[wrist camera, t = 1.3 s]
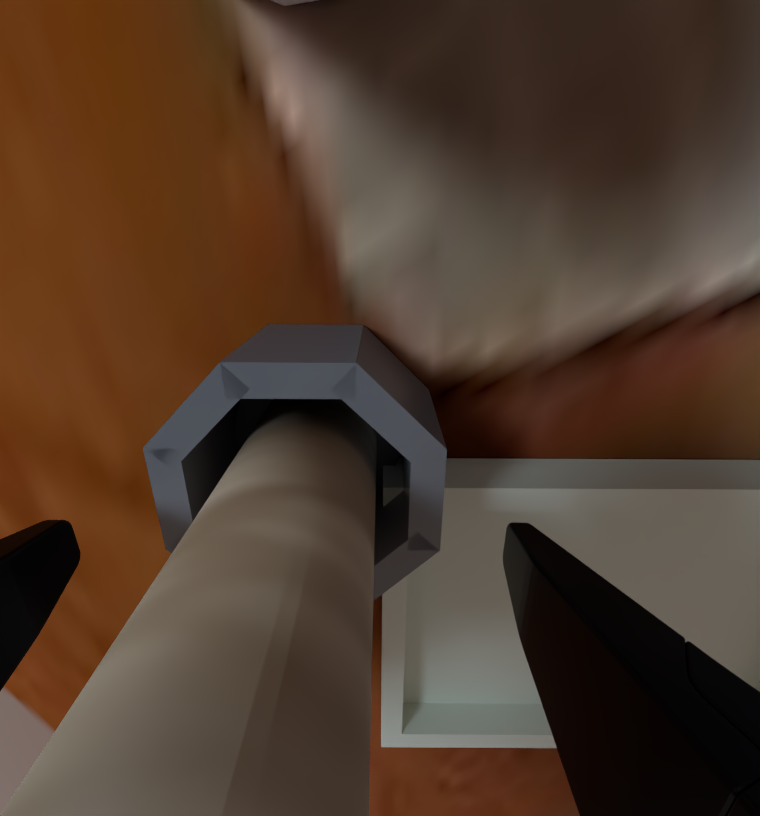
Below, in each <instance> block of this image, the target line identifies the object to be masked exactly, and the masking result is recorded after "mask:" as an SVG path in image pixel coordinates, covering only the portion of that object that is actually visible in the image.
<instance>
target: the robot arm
mask: <svg viewBox="0 0 760 816" xmlns="http://www.w3.org/2000/svg"><path fill="white" fill-rule="evenodd" d="M79 560H80V549H79V546H78V543H77V540H76V537H75V534H74V531H73V528H72V525H71V524H70V523H69V522H68V521H66V520H45V521H42V522H40V523H37V524H35V525H33V526H30V527H28V528H26V529H23V530H21V531H19V532H16V533H14V534H12V535H9V536H7V537H5V538H2V539H0V691H1V689H2V688H3V687H4V685H5V684H6V682H7V681H8V679H9V678H10V676H11V675H12V673H13V672H14V670H15V669H16V667H17V666H18V665H19V663H20V662H21V660H22V659H23V657H24V656H25V654H26V653H27V651H28V650H29V648H30V647H31V645H32V644H33V642H34V641H35V639H36V638H37V636H38V635H39V633H40V631H41V629H42V628H43V626H44V624H45V623H46V621H47V619H48V617H49V616H50V614H51V612H52V610H53V608H54V607H55V605H56V603H57V601H58V600H59V598H60V596H61V594H62V592H63V591H64V589H65V587H66V585H67V584H68V582H69V580H70V578H71V576H72V575H73V573H74V571H75V569H76V567H77V566H78V564H79ZM503 566H504V571H505V576H506V580H507V585H508V589H509V594H510V598H511V603H512V607H513V612H514V616H515V620H516V625H517V629H518V633H519V637H520V641H521V644H522V647H523V650H524V653H525V656H526V659H527V662H528V665H529V668H530V671H531V674H532V677H533V680H534V683H535V686H536V688H537V691H538V694H539V697H540V700H541V703H542V706H543V709H544V712H545V715H546V718H547V721H548V724H549V726H550V729H551V732H552V735H553V738H554V741H555V744H556V747H557V750H558V753H559V756H560V759H561V762H562V764H563V767H564V770H565V773H566V776H567V779H568V782H569V785H570V788H571V791H572V794H573V797H574V800H575V803H576V805H577V808H578V811H579V814H580V816H760V691H758V690H757V689H755V688H754V687H752V686H751V685H749V684H748V683H747V682H745V681H744V680H742V679H741V678H740V677H738V676H737V675H735V674H734V673H732V672H731V671H730V670H728V669H727V668H725V667H724V666H723V665H721V664H720V663H718V662H717V661H716V660H714V659H713V658H712V657H710V656H709V655H707V654H706V653H705V652H703V651H702V650H701V649H699V648H698V647H697V646H695V645H694V644H693V643H691V642H690V641H687V642H685V638H684V637H683V636H681V635H680V634H679V633H677V632H676V631H675V630H673V629H672V628H671V627H669V626H668V625H667V624H665V623H664V622H663V621H661V620H660V619H658V618H657V617H656V616H654V615H653V614H652V613H650V612H649V611H648V610H646V609H645V608H644V607H642V606H641V605H640V604H638V603H637V602H635V601H634V600H633V599H631V598H630V597H629V596H627V595H626V594H625V593H623V592H622V591H621V590H619V589H618V588H617V587H615V586H614V585H612V584H611V583H610V582H608V581H607V580H606V579H604V578H603V577H602V576H600V575H599V574H598V573H596V572H595V571H593V570H592V569H591V568H589V567H588V566H587V565H585V564H584V563H583V562H581V561H580V560H579V559H577V558H576V557H575V556H573V555H572V554H570V553H569V552H568V551H566V550H565V549H564V548H562V547H561V546H560V545H558V544H557V543H556V542H554V541H553V540H552V539H550V538H549V537H547V536H546V535H545V534H543V533H542V532H541V531H539V530H538V529H537V528H535V527H534V526H533V525H531V524H529V523H521V522H512V523H509V524H508V526H507V528H506V535H505V542H504V549H503Z"/></svg>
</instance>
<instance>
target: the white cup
mask: <svg viewBox="0 0 760 816" xmlns="http://www.w3.org/2000/svg"><path fill="white" fill-rule="evenodd" d="M271 1H273V2H276V3H278V4H280V5H283V6H288V5H294V4H300V3H306V2H312V1H318V0H271Z"/></svg>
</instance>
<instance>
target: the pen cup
mask: <svg viewBox="0 0 760 816" xmlns="http://www.w3.org/2000/svg"><path fill="white" fill-rule="evenodd" d="M240 399H241V401H240V404H239V406H238V407H237V402H238V401H239V400H240ZM274 399H342V400H343V401H344V402H345V403H346V404H347V405H348V406H349V407H351V408H352V409H353V410H354V411H355V412H356V413H357V414H358V415H359V416H360V417H361V418H363V419H364V420H365V421H366V422H367V423H368V424H369V425H370V426H371V427H372V428H374V429H375V430H376V432H377V455H376V500H375V546H374V591H373V601H374V600H375V599H377V598H378V597H379V596H381V595H382V594H383V593H385V592H386V591H387V590H389V589H390V588H391V587H393V586H394V585H395V584H396V583H398V582H399V581H400V580H402V579H403V578H404V577H406V576H407V575H408V574H410V573H411V572H412V571H414V570H415V569H416V568H418V567H419V566H420V565H422V564H423V563H424V562H426V561H427V560H428V559H430V558H431V557H432V556H434V555H435V554H436V553H438V552H439V551H440V544H441V529H442V515H443V501H444V487H445V473H446V458H447V448H446V445H445V441H444V438H443V435H442V432H441V428H440V425H439V422H438V418H437V415H436V412H435V409H434V405H433V402H432V399H431V395H430V392H429V389H428V388H427V387H426V386H425V385H424V384H423V383H422V382H421V381H420V380H419V379H418V378H417V377H416V376H415V375H414V374H413V373H412V372H411V371H410V370H409V369H408V368H407V367H406V366H405V365H404V364H403V363H402V362H401V361H400V360H399V359H397V358H396V357H395V356H394V355H393V354H392V353H391V352H390V351H389V350H388V349H387V348H386V347H385V346H384V345H383V344H382V343H381V342H380V341H379V340H378V339H377V338H376V337H375V336H374V335H373V334H372V333H371V332H370V331H369V330H368V329H367V328H366V327H365V326H364V325H273V324H268V325H266V326H265V327H264V328H263V329H261V330H260V331H259V332H258V333H256V334H255V335H254V336H253V337H251V338H250V339H249V340H247V341H246V342H245V343H244V344H242V345H241V346H240V347H239V348H237V349H236V350H235V351H234V352H232V353H231V354H230V355H229V356H227V357H226V358H225V359H224V360H222V361H221V362H220V363H219V364H218V365H217V366H216V367H215V368H214V369H213V370H212V372H211V373H210V374H209V375H208V376H207V377H206V378H205V379H204V381H203V382H202V383H201V384H200V385H199V386H198V387H197V388H196V389H195V391H194V392H193V393H192V394H191V395H190V396H189V397H188V398H187V399H186V401H185V402H184V403H183V404H182V405H181V406H180V407H179V408H178V409H177V411H176V412H175V413H174V414H173V415H172V416H171V417H170V418H169V420H168V421H167V422H166V423H165V424H164V425H163V426H162V427H161V428H160V430H159V431H158V432H157V433H156V434H155V435H154V436H153V437H152V438H151V440H150V441H149V442H148V443H147V444H146V445H145V446H144V447H143V451H144V456H145V460H146V464H147V469H148V473H149V478H150V482H151V486H152V491H153V495H154V500H155V504H156V508H157V513H158V517H159V521H160V526H161V530H162V535H163V539H164V543H165V548H166V550H168V551H169V552H171V553H173V551H174V550H175V548H176V546H177V545H178V543H179V542H180V540H181V539H182V537H183V536H184V534H185V533H186V531H187V530H188V528H189V527H190V525H191V524H192V522H193V521H194V519H195V518H196V516H197V514H198V513H199V511H200V510H201V508H202V507H203V505H204V504H205V502H206V501H207V499H208V498H209V496H210V495H211V493H212V492H213V490H214V489H215V487H216V486H217V484H218V482H219V481H220V479H221V478H222V476H223V475H224V473H225V472H226V470H227V469H228V467H229V466H230V464H231V463H232V461H233V460H234V458H235V457H236V455H237V454H238V452H239V450H240V449H241V447H242V446H243V444H244V443H245V441H246V440H247V438H248V437H249V435H250V434H251V432H252V431H253V429H254V428H255V426H256V425H257V423H258V422H259V420H260V418H261V417H262V415H263V414H264V412H265V411H266V409H267V408H268V406H269V405H270V403H271V402H272V401H273V400H274ZM400 453H401V462H402V473H403V484H404V490H403V491H402V492H401V493H400V494H398V495H397V496H396V497H395V498H394V499H392V500H391V501H390V502H389V503H388V504H386V505H385V506H384V507H383V466H396V463H397V461H398V459H399V456H400Z"/></svg>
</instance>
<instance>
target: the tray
mask: <svg viewBox="0 0 760 816" xmlns="http://www.w3.org/2000/svg"><path fill="white" fill-rule="evenodd" d="M403 490H404V484H403V473H402V462H401V458H399V459H398V461H397V463H396V466H383V507H384V506H385V505H386V504H388V503H389V502H390V501H391V500H392V499H394V498H395V497H396V496H397V495H398V494H400V493H401V492H402V491H403ZM512 522H521V523H529V524H531V525H533V526H534V527H535V528H537V529H538V530H539V531H541V532H542V533H543V534H545V535H546V536H547V537H549V538H550V539H552V540H553V541H554V542H556V543H557V544H558V545H560V546H561V547H562V548H564V549H565V550H566V551H568V552H569V553H570V554H572V555H573V556H575V557H576V558H577V559H579V560H580V561H581V562H583V563H584V564H585V565H587V566H588V567H589V568H591V569H592V570H593V571H595V572H596V573H598V574H599V575H600V576H602V577H603V578H604V579H606V580H607V581H608V582H610V583H611V584H612V585H614V586H615V587H617V588H618V589H619V590H621V591H622V592H623V593H625V594H626V595H627V596H629V597H630V598H631V599H633V600H634V601H635V602H637V603H638V604H640V605H641V606H642V607H644V608H645V609H646V610H648V611H649V612H650V613H652V614H653V615H654V616H656V617H657V618H658V619H660V620H661V621H663V622H664V623H665V624H667V625H668V626H669V627H671V628H672V629H673V630H675V631H676V632H677V633H679V634H680V635H681V636H683V637H684V638H685V642H687V641H690V642H691V643H693V644H694V645H695V646H697V647H698V648H699V649H701V650H702V651H703V652H705V653H706V654H707V655H709V656H710V657H712V658H713V659H714V660H716V661H717V662H718V663H720V664H721V665H723V666H724V667H725V668H727V669H728V670H730V671H731V672H732V673H734V674H735V675H737V676H738V677H740V678H741V679H742V680H744V681H745V682H747V683H748V684H749V685H751V686H752V687H754V688H755V689H757V690H758V691H760V460H682V459H485V458H446V473H445V487H444V501H443V515H442V529H441V544H440V551H439V552H438V553H436V554H435V555H434V556H432V557H431V558H430V559H428V560H427V561H426V562H424V563H423V564H422V565H420V566H419V567H418V568H416V569H415V570H414V571H412V572H411V573H410V574H408V575H407V576H406V577H404V578H403V579H402V580H400V581H399V582H398V583H396V584H395V585H394V586H393V587H391V588H390V589H389V590H387V591H386V592H385V593H383V594H382V660H381V747H452V748H557V747H556V744H555V741H554V738H553V735H552V732H551V729H550V726H549V724H548V721H547V718H546V715H545V712H544V709H543V706H542V703H541V700H540V697H539V694H538V691H537V688H536V686H535V683H534V680H533V677H532V674H531V671H530V668H529V665H528V662H527V659H526V656H525V653H524V650H523V647H522V644H521V641H520V637H519V633H518V629H517V625H516V620H515V616H514V612H513V607H512V603H511V598H510V594H509V589H508V585H507V580H506V576H505V571H504V566H503V549H504V542H505V535H506V528H507V526H508V524H509V523H512Z"/></svg>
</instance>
